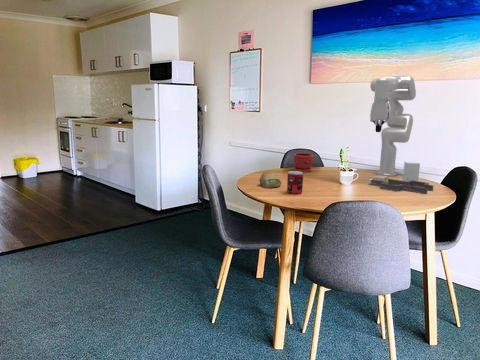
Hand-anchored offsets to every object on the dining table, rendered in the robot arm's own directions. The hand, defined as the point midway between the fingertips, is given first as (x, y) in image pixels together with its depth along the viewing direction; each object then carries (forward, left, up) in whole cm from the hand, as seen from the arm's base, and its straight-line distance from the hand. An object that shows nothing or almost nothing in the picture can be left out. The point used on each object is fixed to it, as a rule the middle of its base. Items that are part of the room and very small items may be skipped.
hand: (378, 131), depth 222 cm
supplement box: (-14, +17, -31) cm, 38 cm away
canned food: (+60, -16, -31) cm, 69 cm away
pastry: (+56, -36, -31) cm, 73 cm away
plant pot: (+2, -50, -31) cm, 59 cm away
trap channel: (+5, +18, -30) cm, 35 cm away
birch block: (+5, +6, -30) cm, 32 cm away
